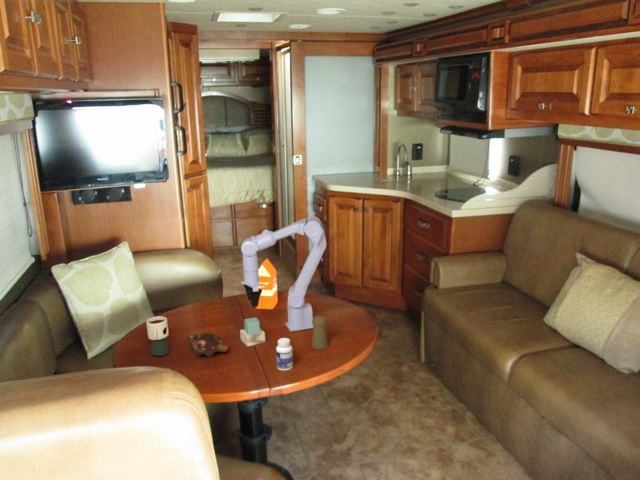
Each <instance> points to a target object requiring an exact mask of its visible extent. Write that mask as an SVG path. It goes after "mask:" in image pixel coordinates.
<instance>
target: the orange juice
mask: <svg viewBox="0 0 640 480" xmlns="http://www.w3.org/2000/svg"><path fill="white" fill-rule="evenodd" d="M258 269H259V280H260V283H259V285H258V289H262V293H261V295H260V298H259V304H258V307H255V309H259V310H260V309H261V310H262V309H263V310H264V309H265V310H273V309H274V308H275V307H276V305H277V303H278V300H279V299H278V284H277V281H278V280H277V269H276V268H275V267H274V266H273V264H272V263H271V262H270V261H269V259H268V258H266V259H265V260H264V261H263V262H262V263H261V266H260V267H258Z"/></svg>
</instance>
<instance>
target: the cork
mask: <svg viewBox="0 0 640 480" xmlns="http://www.w3.org/2000/svg"><path fill="white" fill-rule="evenodd" d="M312 324H313V326H314V327H313V328H312V329H313V330H312V339H311V340H312V341H311V348H313V349H316V350H324V349H326V348H328V347H329V342H328V334H327V330H326V325H327V318H326V317H325V316H324V315H316V316H313V319H312Z"/></svg>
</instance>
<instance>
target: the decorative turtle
mask: <svg viewBox="0 0 640 480" xmlns="http://www.w3.org/2000/svg"><path fill="white" fill-rule="evenodd" d="M185 340H186V343H187V344H188V345H189V347H191V348H192V350H193V353H194V354H195V356H196V358H201V357H202V356H203V355H205V356H206V357H207V358H208V359H211V358H213V356H214V354H215V353H216V352H217V353H219V352H220V353H222V352H223V353H225V352H227V351H228V350H229V344H228V343H226V342H224V340H223V339H222V337H220V336H219V335H218V334H215V333H212V332H211V333H209V332H207V333H202V334H201V335H200V336H199V337H198V335H197V334H196V333H189V334H187V336H186V338H185Z"/></svg>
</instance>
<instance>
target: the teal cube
mask: <svg viewBox="0 0 640 480" xmlns="http://www.w3.org/2000/svg"><path fill="white" fill-rule="evenodd" d="M244 329H245V331H246V333H247V335H253V334H258V333H260V329H261V328H260V321H259V319H258V318H257V317H251V318H245V319H244Z"/></svg>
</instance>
